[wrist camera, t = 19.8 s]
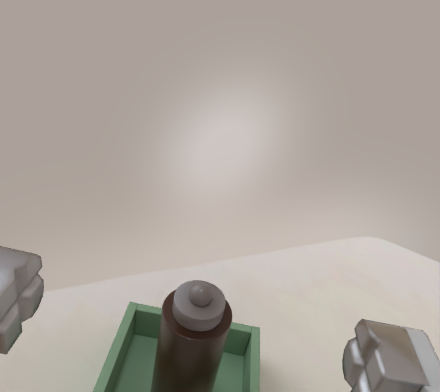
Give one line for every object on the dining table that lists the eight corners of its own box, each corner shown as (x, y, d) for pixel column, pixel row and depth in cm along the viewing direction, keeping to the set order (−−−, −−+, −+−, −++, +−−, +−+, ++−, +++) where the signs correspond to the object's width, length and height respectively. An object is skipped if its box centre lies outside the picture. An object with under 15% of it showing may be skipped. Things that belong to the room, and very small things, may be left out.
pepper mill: (142, 424, 30) (157, 306, 23) (157, 368, 35) (173, 255, 28) (204, 436, 30) (236, 322, 23) (211, 379, 35) (240, 268, 28)
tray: (73, 470, 27) (72, 441, 25) (127, 330, 38) (129, 301, 36) (246, 505, 27) (258, 478, 25) (250, 354, 38) (260, 327, 36)
